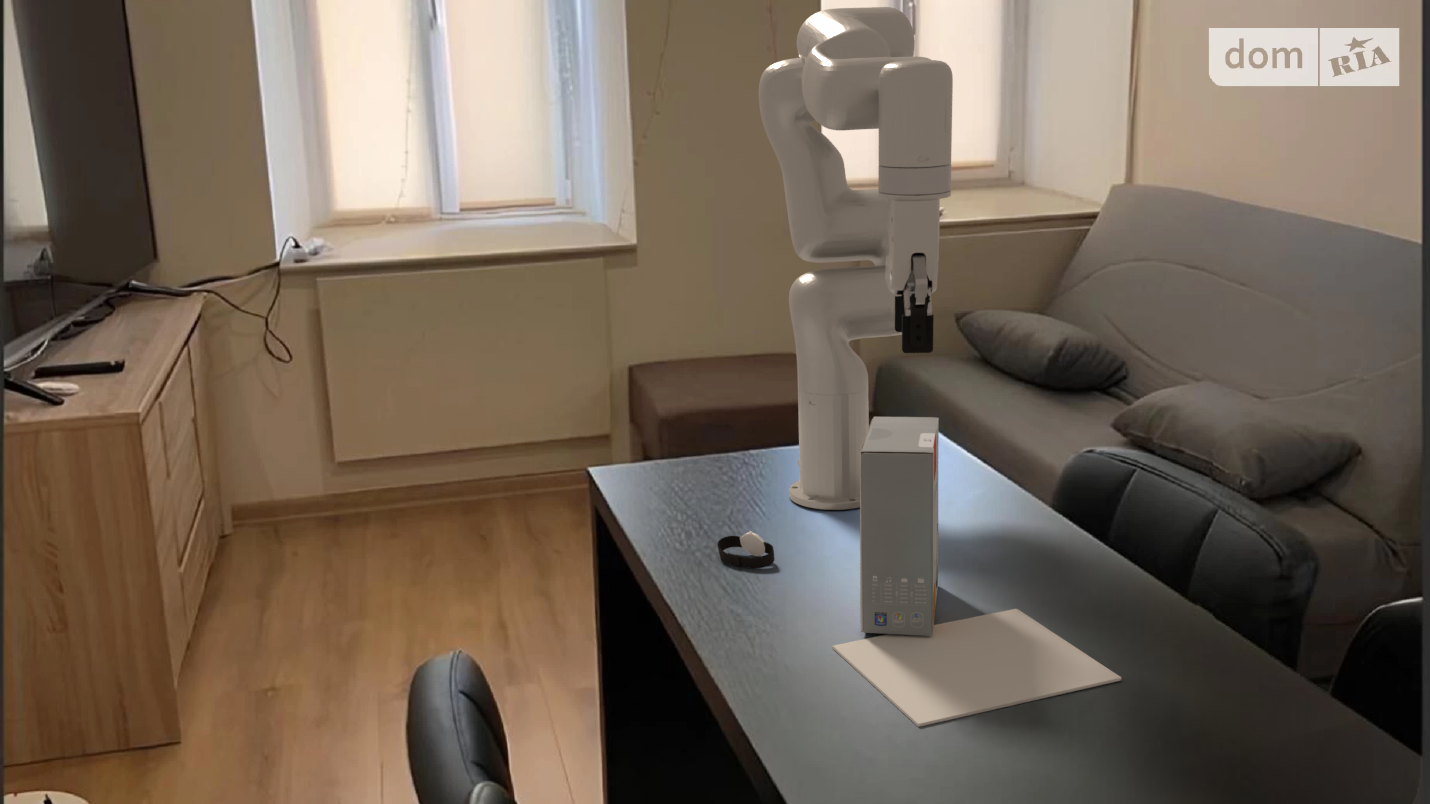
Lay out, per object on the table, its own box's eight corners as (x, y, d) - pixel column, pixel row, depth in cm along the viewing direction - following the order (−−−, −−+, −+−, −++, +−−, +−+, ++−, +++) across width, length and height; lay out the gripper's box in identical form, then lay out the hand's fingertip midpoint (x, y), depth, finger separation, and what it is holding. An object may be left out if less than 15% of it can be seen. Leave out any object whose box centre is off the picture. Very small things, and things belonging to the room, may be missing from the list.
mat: (832, 648, 135) (832, 645, 135) (1016, 611, 142) (1016, 608, 142) (918, 726, 118) (918, 723, 118) (1121, 680, 126) (1121, 677, 126)
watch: (783, 562, 159) (782, 534, 158) (761, 574, 155) (760, 546, 154) (731, 550, 163) (730, 523, 162) (709, 562, 160) (707, 534, 159)
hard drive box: (934, 638, 135) (933, 452, 131) (860, 635, 137) (856, 451, 132) (939, 583, 150) (939, 414, 145) (872, 581, 152) (869, 414, 147)
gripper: (873, 174, 146) (873, 324, 150) (884, 193, 129) (883, 361, 134) (941, 172, 145) (939, 323, 150) (961, 191, 129) (957, 360, 133)
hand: (913, 341), depth 142 cm, fingers open, 9 cm apart
